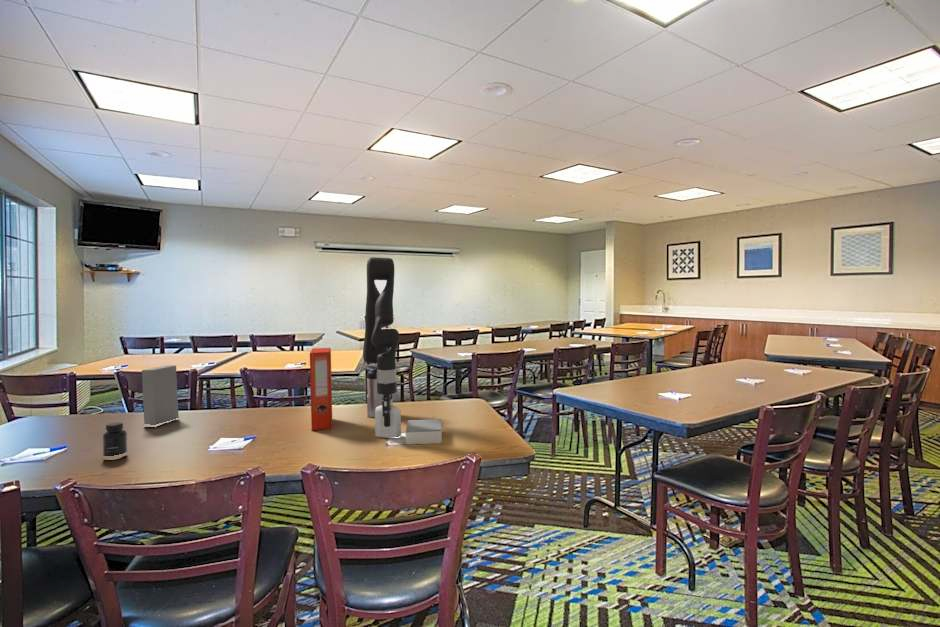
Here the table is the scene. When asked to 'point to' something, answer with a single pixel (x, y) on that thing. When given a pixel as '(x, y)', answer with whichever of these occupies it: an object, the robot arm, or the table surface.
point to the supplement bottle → (114, 440)
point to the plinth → (424, 431)
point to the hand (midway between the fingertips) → (388, 423)
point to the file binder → (321, 388)
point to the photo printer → (395, 423)
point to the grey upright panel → (160, 394)
